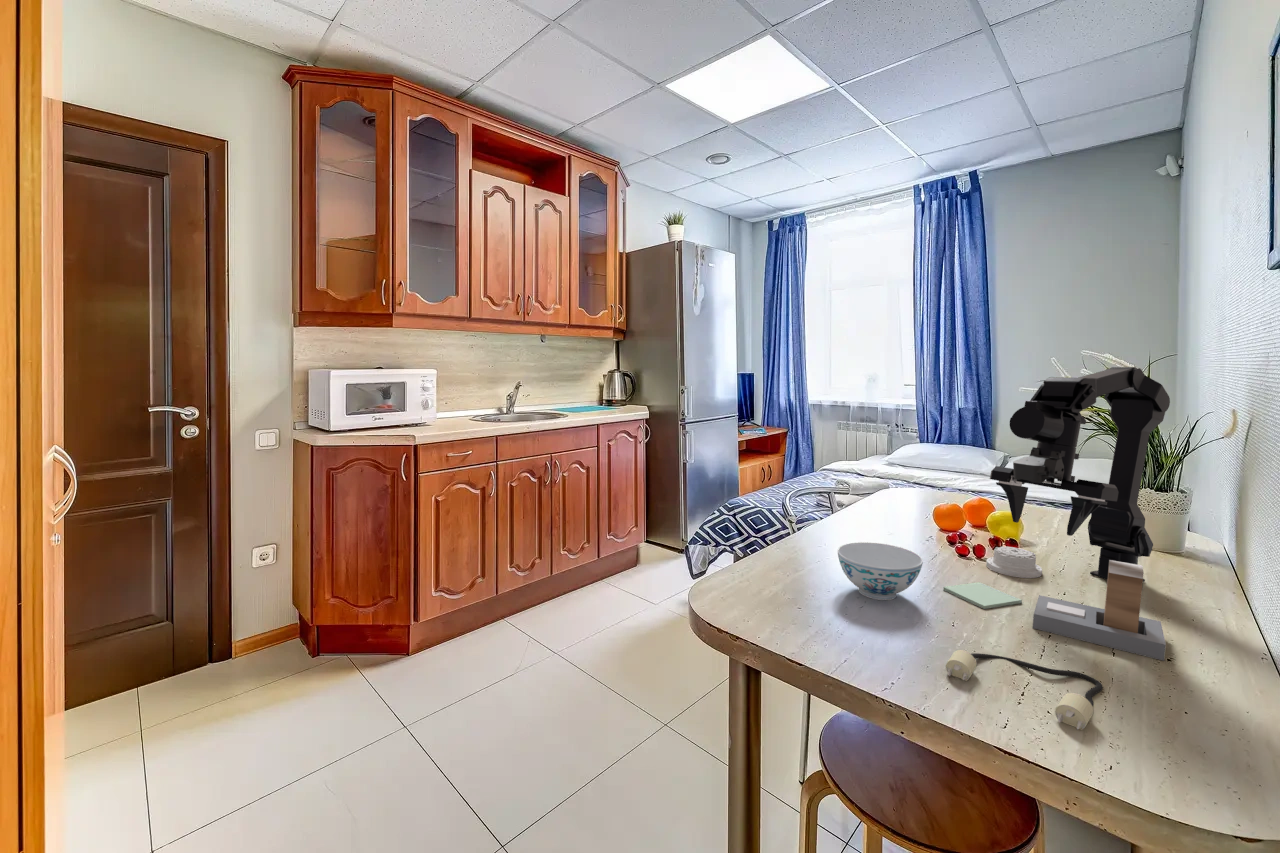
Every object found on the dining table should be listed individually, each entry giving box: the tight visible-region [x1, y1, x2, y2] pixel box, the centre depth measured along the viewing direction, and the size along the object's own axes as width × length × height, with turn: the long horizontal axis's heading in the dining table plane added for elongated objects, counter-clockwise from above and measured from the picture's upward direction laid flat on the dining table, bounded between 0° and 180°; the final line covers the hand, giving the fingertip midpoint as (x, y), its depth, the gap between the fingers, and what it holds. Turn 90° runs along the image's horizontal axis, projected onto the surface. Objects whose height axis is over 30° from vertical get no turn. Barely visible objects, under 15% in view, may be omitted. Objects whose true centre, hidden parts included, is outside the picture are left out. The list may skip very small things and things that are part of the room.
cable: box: [945, 649, 1104, 731], centre depth 76 cm, size 16×16×4 cm
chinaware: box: [837, 541, 924, 601], centre depth 106 cm, size 15×15×8 cm
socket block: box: [1032, 594, 1167, 662], centre depth 90 cm, size 10×16×3 cm, turn 50°
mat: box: [942, 581, 1023, 610], centre depth 104 cm, size 9×9×1 cm
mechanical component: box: [985, 545, 1043, 579], centre depth 118 cm, size 10×4×10 cm
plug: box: [1103, 560, 1144, 633], centre depth 88 cm, size 4×4×12 cm
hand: (1041, 528), depth 101 cm, fingers open, 9 cm apart
